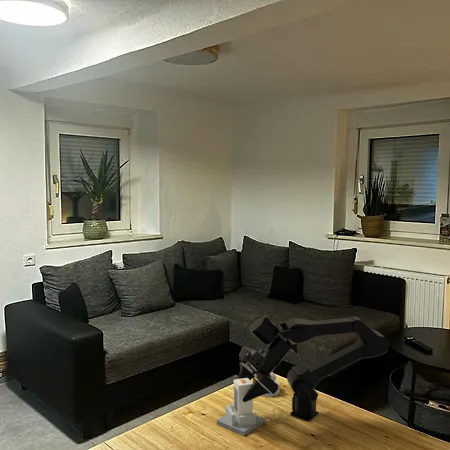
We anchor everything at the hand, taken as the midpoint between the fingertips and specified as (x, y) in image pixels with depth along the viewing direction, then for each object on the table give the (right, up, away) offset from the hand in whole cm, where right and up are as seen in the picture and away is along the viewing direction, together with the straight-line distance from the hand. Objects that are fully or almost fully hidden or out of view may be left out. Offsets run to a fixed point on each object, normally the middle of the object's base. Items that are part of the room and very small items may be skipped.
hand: (238, 395), depth 135 cm
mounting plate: (+1, -8, 0) cm, 8 cm away
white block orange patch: (+1, -7, +1) cm, 7 cm away
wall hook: (+10, -7, +22) cm, 25 cm away
